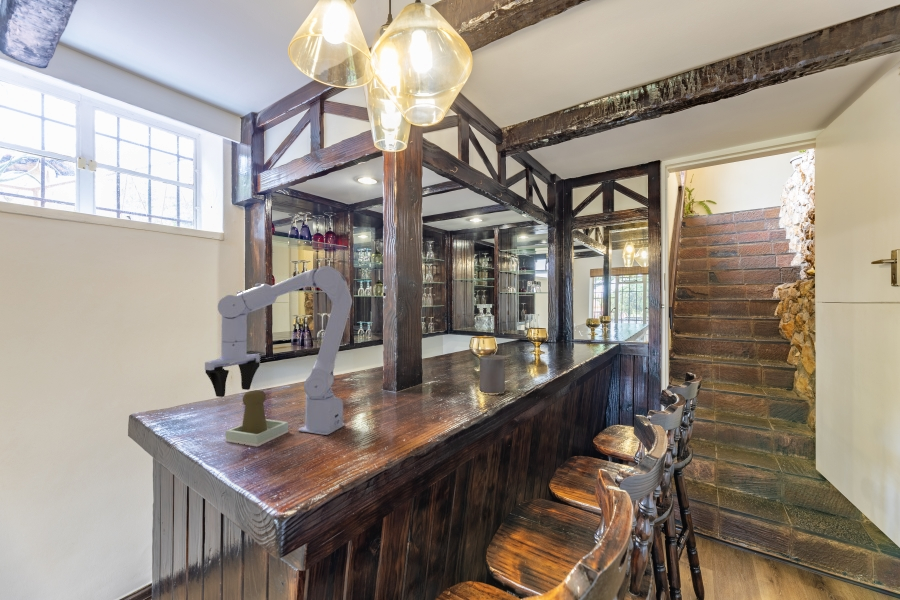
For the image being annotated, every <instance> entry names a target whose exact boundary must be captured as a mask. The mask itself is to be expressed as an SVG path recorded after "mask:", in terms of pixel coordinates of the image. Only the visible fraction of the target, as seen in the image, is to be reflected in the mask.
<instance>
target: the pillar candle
mask: <svg viewBox="0 0 900 600" xmlns="http://www.w3.org/2000/svg"><path fill="white" fill-rule="evenodd" d="M505 361H506V356H504V355H500V354H499V355H498V354H483V355H482V354H481V355H480V356H479V386H478V387H479V388H478V389H479V390H480V391H481V392H484V393H499V392H503V391H504V390H505V389H506V387H505V386H506V384H505V383H506V371H505V370H506V369H505V365H506V364H505V363H506V362H505Z"/></svg>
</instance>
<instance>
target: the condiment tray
mask: <svg viewBox="0 0 900 600" xmlns="http://www.w3.org/2000/svg"><path fill="white" fill-rule="evenodd" d="M266 425H267V430H266V431H264V432H261V433H259V434H253V433H247V432H241V431H242V424H240V425H238V426H235V427H233V428H230V429H227V430H225V442H227V443H234V444H238V443H239V444H240V445H244V444H245V445H246V446H251V447H256V448H257V447H259V446H261V445H264V444H266V443H268V442H270V441H272V440H274V439H276V438H278V437H281V436H283V435H285V434H287V433H289V421H284V420H283V421H281V420H276V419H275V420H274V419H267V418H266ZM239 444H238V445H239Z"/></svg>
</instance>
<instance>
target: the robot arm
mask: <svg viewBox="0 0 900 600" xmlns="http://www.w3.org/2000/svg"><path fill="white" fill-rule="evenodd" d="M306 287H310V288H319V289H320V290H321V291H323V292H324V293H325V295H327V297H328V298H329V300H330V301H331V303H332V306H331V310H330V314H329V317H328V320H327V323H326V326H325V330H324V334H323V337H322V341H321V344H320V348H319V351H318V355H317V358H316V360H315V363H314V364H313V367H312V370H311V373H310V375H309V376H307V378H306V379H305V381H304V382H303V383H304V384H303V390H304V392H305V417H304V418H305V421H304V423H305V425H304V426H302V427H299V428H297V431H298V432H303V433H310V434H317V435H325V436H328V435H329V434H332V433H334V432H336V431H337V430H339V429H341V428H343V427H344V426H345V425H346V423H344V402H343V400H342V398H340V397H338V396H335V395H334V390H332V388H331V387H332V386H333V384H334V383H335V375H334V369H335V363H336V359H337V356H338V352H339V349H340V345H341V342H342V338H343V335H344V331H345V329H346V325H347V322H348V318H349V314H350V311H351V309H352V304H353V299H352V298H353V297H352V296H351V295H352V294H351V291H350V289H349V286H348V282H347V278H345V277H344V275H343V274H342V272H340V271H339V270H338V269H336V268H334V267H332V266H329V265H323V266H320V267H318V268H313V269H310V270H306V271H304V272H301V273H299V274H296V275H294V276H292V277H289V278H287V279H285V280H282V281H280V282H277V283H276V284H273V285H270V284H268V283H260V282H259V283H255V284H254V287H252V288H249V289H247V290H244V291H242V290H240V291H237V292H236V295H234V294H227V295H225V296H224V297H222V298H221V299H220V300H219V301H218V303H217V311H218V313H219V314H220V315H221V331H220V332H221V336H220V337H221V339H220V340H221V342H220V344H221V346H220V347H221V348H220V349H221V350H220V352H221V353H220V354H221V355H220V357H219V358H217V359H213V360H208V361H205V362H204V370H205V374H206V375H207V377H208V379H209V380H210V382H211V384H212V386H213V387H212V388H213V390H214V392H215V393H214V394H215V397H217V398H223V397H225V395H226V386H227V385H226V383H227V379H228V375H229V372H230V370H228V369H225V368H227V367H233V366H236V365H237V366H238V368H239V373H240V384H241V386H240V387H241V390H245V391H246V390H247V391H249V390H250V389H251V386H252V382H253V379H254V377H255V375H256V373H257V372H258V371H257V370H258V369H259V367H260V365H261V364H260V354H259V353H251V354H247V349H248V347H247V346H248V345H247V340H248V339H247V336H248V334H247V332H248V323H247V322H248V320H247V318H248V314H249V313H252V312H255V311H258V310H260V309H263V308H265V307H267V306H271V305H272V304H273V305H274V304H275V303H276V301H277V298H278V297H280V296H284V295H286V294H289V293H292V292H294V291H297V290H300V289H303V288H306Z"/></svg>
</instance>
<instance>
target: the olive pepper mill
mask: <svg viewBox="0 0 900 600" xmlns="http://www.w3.org/2000/svg"><path fill="white" fill-rule="evenodd" d="M266 398H267V396H266V393H265V391H264V390H261V389H260V390H259V389H258V390H250V391H249V390H248V391H247V392H245V393H244V394H243V396H242V402H243V405H244V410H243V411H244V412H243V416H242V417H243V418H242V423H241V425H242V431H241V432H247V433H253V434H259V433H261V432H264V431H266V430H267V425H266V419H267V418H266V413H265V405H264V403H265V401H266Z"/></svg>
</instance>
